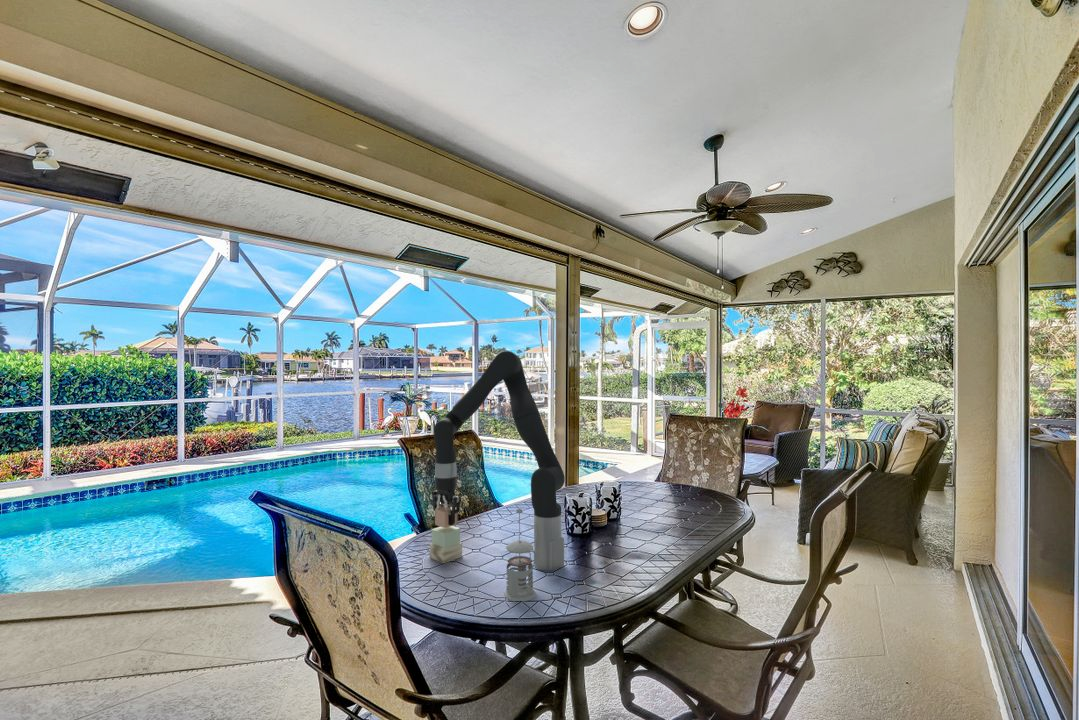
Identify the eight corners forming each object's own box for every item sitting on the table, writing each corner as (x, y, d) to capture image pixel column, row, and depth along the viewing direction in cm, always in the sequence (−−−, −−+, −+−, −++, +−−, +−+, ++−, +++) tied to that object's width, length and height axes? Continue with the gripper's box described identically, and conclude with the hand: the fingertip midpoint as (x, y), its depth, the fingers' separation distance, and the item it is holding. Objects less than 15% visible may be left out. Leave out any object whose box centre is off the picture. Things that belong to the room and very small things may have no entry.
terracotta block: (457, 524, 173) (457, 508, 173) (444, 528, 168) (444, 512, 169) (447, 520, 176) (447, 505, 176) (435, 524, 172) (435, 509, 172)
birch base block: (462, 557, 172) (462, 542, 172) (443, 564, 166) (443, 549, 166) (448, 551, 178) (448, 537, 178) (429, 558, 172) (429, 543, 172)
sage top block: (460, 542, 173) (460, 528, 173) (444, 548, 167) (444, 533, 167) (446, 538, 177) (446, 524, 177) (431, 543, 172) (431, 529, 172)
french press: (496, 596, 143) (495, 510, 143) (519, 581, 152) (519, 500, 152) (523, 605, 137) (523, 515, 137) (546, 589, 147) (545, 505, 147)
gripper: (467, 476, 171) (467, 524, 170) (442, 470, 180) (442, 516, 180) (449, 479, 165) (450, 530, 165) (425, 473, 175) (425, 521, 174)
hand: (446, 522), depth 172 cm, fingers closed on terracotta block, 5 cm apart
